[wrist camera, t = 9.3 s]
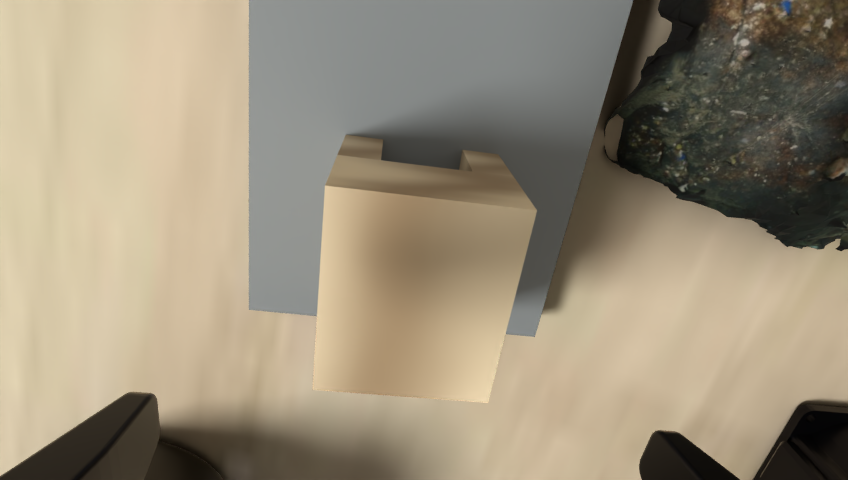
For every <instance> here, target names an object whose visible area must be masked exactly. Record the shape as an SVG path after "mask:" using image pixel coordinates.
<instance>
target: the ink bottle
mask: <svg viewBox="0 0 848 480" xmlns="http://www.w3.org/2000/svg"><path fill="white" fill-rule="evenodd" d="M144 480H223V479H222V477H221V476H220V475H219V474H218V472H217V471H216V470H215V469H214V468H213V467H211V466H210V465H209V464H208V463H207V462H205V461H204V460H202V459H201V458H199V457H197V456H196V455H194V454H192V453H190V452H188V451H186V450H184V449H182V448H179V447H177V446H174V445H171V444H168V443H165V442H161V441H158V443H157V446H156V449H155V451H154V454H153V457H152V459H151V462H150V464H149V467H148V470H147V472H146V475H145V477H144Z"/></svg>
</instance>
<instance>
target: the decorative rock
mask: <svg viewBox="0 0 848 480" xmlns="http://www.w3.org/2000/svg"><path fill="white" fill-rule="evenodd" d="M658 11H659V13H660V16H661V17H663V18H666V19H667V20H669V21H670V22H672V31H671V33H670V35H669V38H668V40H667V42H666V43H665V44H663V45H662V46H660V47H659V48H658V50H657V51H656V53H655V54H654V55H653V56H649V57H647V59H646V62H645V64H644V67H643V69H642V71H641V80H640V82H639V84H638V86H637V87H636V89H635V90H634V91H633V92H632V93H631V94H630V95H629V96H628V98H627V99H625V100H624V101H623V103H622V105H621V107H618V108H615V111H614V113H613V114H612V116H611V117H610V118H609V119H608V121H609V120H610V119H612V118H613V117H614V116H615V115H617V114H618V115H619V116H621V117H622V118H623V119H624V122H623V128H622V132H621V137H620V141H619V146H618V151H617V157H618V161H613V160H611V159H610V160H611V161H612V162H614V163H616V164H618V165H619V166H620V167H621V168H625V169H627V170H628V171H629V172H631V173H634V174H640V175H642V176H643V177H646V178H650V179H652V180H655V181H657V182H660V183H662V184H663V185H664V186H668V187H669V189H670V190H671V191H672V192H673V193H675V194H676V195H677V197H676V198H679V199H682V200H687V201H692V202H695V203H698V204H701V205H704V206H707V207H710V208H713V209H715V210H718V211H719V212H721V213H722V214H724V215H725V216H727V217H736V218H745V219H750V220H753V221H755V222H757V223H758V224H759V226H760V227H762V228H765V229H767V231H766V232H768V233H770V234H772V235H775V236H776V238H774V239H779V240H780V241H781V242H782V243H783V244H784V245H785V246H787V247H788V246H793V247H797V248H801V249H802V248H803V247H806V246H808V247H811V248H815V249H824V247H825V245H827V244H829V243H831V242H833V241H835V239H840V238H841V241H840V246H839V247H838V248H836V249H837V250H840V251H842V250H844V249H848V0H660V3H659V7H658ZM608 121H607V122H606V125H607V123H608ZM606 125H605V128H606ZM605 128H604V134H605ZM604 148H605V146H604ZM605 153H606V150H605ZM606 155H607V154H606ZM607 157H608V156H607ZM608 159H609V158H608Z"/></svg>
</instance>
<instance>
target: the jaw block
mask: <svg viewBox="0 0 848 480" xmlns="http://www.w3.org/2000/svg"><path fill="white" fill-rule="evenodd" d="M382 146H383V139H375V138H367V137H360V136H352V135H345V138H344V140H343V143H342V145H341V147H340V150H339V152H338V155H337V157H336V160H335V162H334V165H333V167H332V170H331V172H330V174H329V177H328V179H327V182H326V184H325V193H324V210H323V226H322V242H321V258H320V275H319V291H318V307H317V323H316V340H315V356H314V372H313V388H312V390H323V391H337V392H350V393H364V394H377V395H390V396H404V397H417V398H430V399H444V400H457V401H470V402H484V403H488V401H489V397H490V393H491V389H492V385H493V381H494V377H495V373H496V370H497V366H498V362H499V358H500V354H501V350H502V346H503V342H504V338H505V334H506V330H507V326H508V323H509V319H510V315H511V311H512V307H513V303H514V299H515V295H516V291H517V287H518V283H519V280H520V276H521V272H522V268H523V264H524V260H525V256H526V252H527V248H528V244H529V240H530V236H531V233H532V229H533V225H534V221H535V217H536V213H537V210H536V208H535V207H534V205H533V204H532V202H531V201H530V199H529V198H528V197H527V195H526V194H525V192H524V191H523V189H522V188H521V186H520V185H519V184H518V182H517V181H516V179H515V178H514V176H513V175H512V173H511V172H510V171H509V169H508V168H507V166H506V165H505V163H504V162H503V161H502V159H501V158H500V156H499V155H498V154H492V153H484V152H476V151H468V150H462V155H461V161H460V167H459V170H455V169H447V168H439V167H431V166H423V165H415V164H407V163H399V162H391V161H383V160H381V156H382Z"/></svg>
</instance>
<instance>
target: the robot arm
mask: <svg viewBox="0 0 848 480" xmlns="http://www.w3.org/2000/svg"><path fill="white" fill-rule="evenodd" d="M159 435H160V423H159V413H158V404H157V398H156V396H155V395H154V394H152V393H141V392H129V393H127V394H125V395H123V396H122V397H120V398H119V399H117V400H115V401H114V402H112V403H111V404H109V405H108V406H106V407H105V408H103V409H102V410H100V411H99V412H97V413H96V414H94V415H93V416H91V417H90V418H88V419H87V420H85V421H84V422H82V423H80V424H79V425H77V426H76V427H74V428H73V429H71V430H70V431H68V432H67V433H65V434H64V435H62V436H61V437H59V438H58V439H56V440H55V441H53V442H52V443H50V444H49V445H47V446H45V447H44V448H42V449H41V450H39V451H38V452H36V453H35V454H33V455H32V456H30V457H29V458H27V459H26V460H24V461H23V462H21V463H20V464H18V465H17V466H15V467H14V468H12V469H10V470H9V471H7V472H6V473H4V474H3V475H1V476H0V480H144V477H145V475H146V472H147V470H148V467H149V464H150V462H151V459H152V457H153V454H154V451H155V449H156V446H157V443H158V440H159ZM639 470H640V475H641V479H642V480H740V479H739V478H737V477H736V476H735V475H733V474H732V473H731V472H729V471H728V470H727V469H726V468H724V467H723V466H722V465H720V464H719V463H718V462H716V461H715V460H714V459H713V458H711V457H710V456H709V455H707V454H706V453H705V452H703V451H702V450H701V449H700V448H698V447H697V446H696V445H694V444H693V443H692V442H690V441H689V440H688V439H686V438H685V437H684V436H683V435H681V434H680V433H678V432H675V431H663V430H658V431H655V432H654V433H653V434H652V435H651V437H650V439H649V442H648V444H647V446H646V448H645V450H644V453H643V455H642V457H641V459H640V464H639ZM754 480H848V408H846V407H834V406H822V405H811V404H808V405H803V406H801V407H799V408H798V409H797V410H796V411H795V412H794V414H793V416H792V417H791V419H790V421H789V422H788V424H787V426H786V427H785V429H784V431H783V432H782V434H781V436H780V437H779V439H778V440H777V442H776V444H775V445H774V447H773V449H772V450H771V452H770V454H769V455H768V457H767V459H766V460H765V462H764V464H763V465H762V467H761V469H760V470H759V472H758V474H757V475H756V477H755V478H754Z"/></svg>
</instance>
